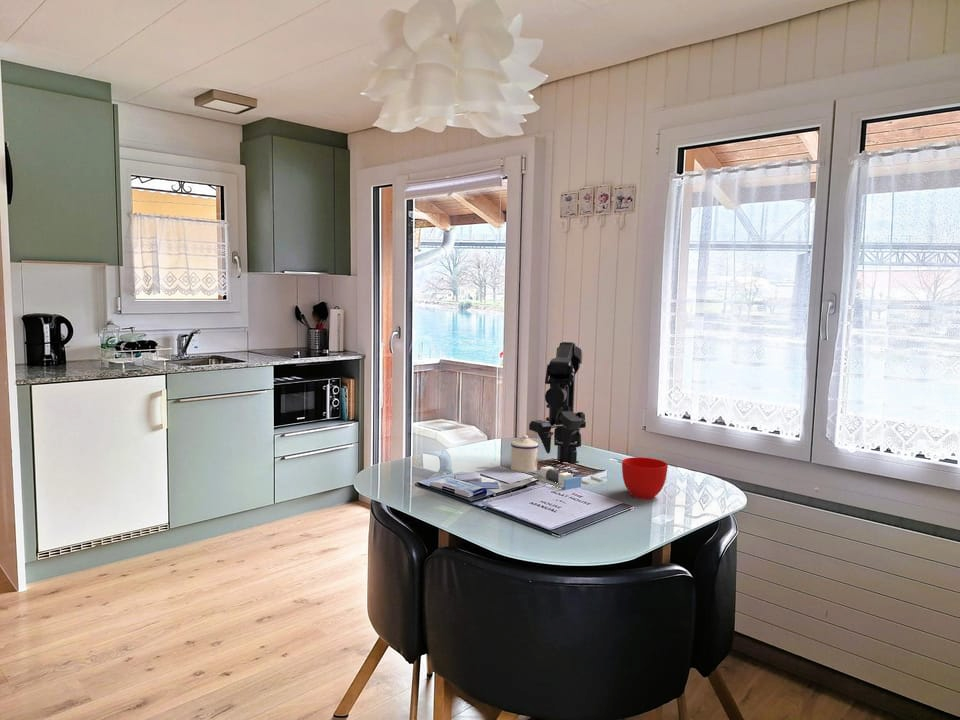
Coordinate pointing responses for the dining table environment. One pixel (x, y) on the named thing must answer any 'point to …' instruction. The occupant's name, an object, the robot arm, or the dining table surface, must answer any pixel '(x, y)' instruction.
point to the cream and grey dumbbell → (554, 475)
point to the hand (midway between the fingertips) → (556, 451)
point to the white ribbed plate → (569, 482)
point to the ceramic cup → (644, 476)
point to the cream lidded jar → (524, 455)
